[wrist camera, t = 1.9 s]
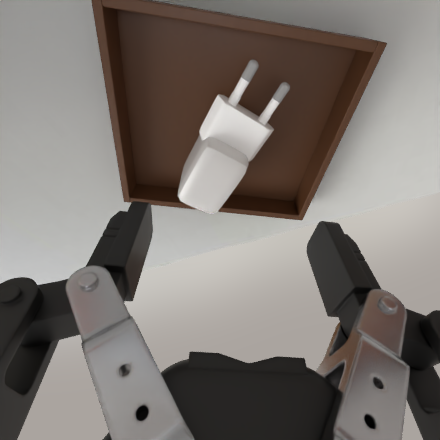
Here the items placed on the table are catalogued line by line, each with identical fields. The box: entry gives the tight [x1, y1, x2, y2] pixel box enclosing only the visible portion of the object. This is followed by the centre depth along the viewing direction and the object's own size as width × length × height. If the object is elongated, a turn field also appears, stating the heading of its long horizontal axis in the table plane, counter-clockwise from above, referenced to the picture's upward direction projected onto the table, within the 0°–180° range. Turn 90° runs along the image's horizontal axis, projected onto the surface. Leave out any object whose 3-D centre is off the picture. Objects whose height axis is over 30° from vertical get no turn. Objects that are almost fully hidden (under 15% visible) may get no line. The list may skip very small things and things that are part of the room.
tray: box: [92, 0, 387, 220], centre depth 21 cm, size 18×15×3 cm
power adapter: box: [178, 59, 290, 214], centre depth 19 cm, size 11×5×6 cm, turn 150°
